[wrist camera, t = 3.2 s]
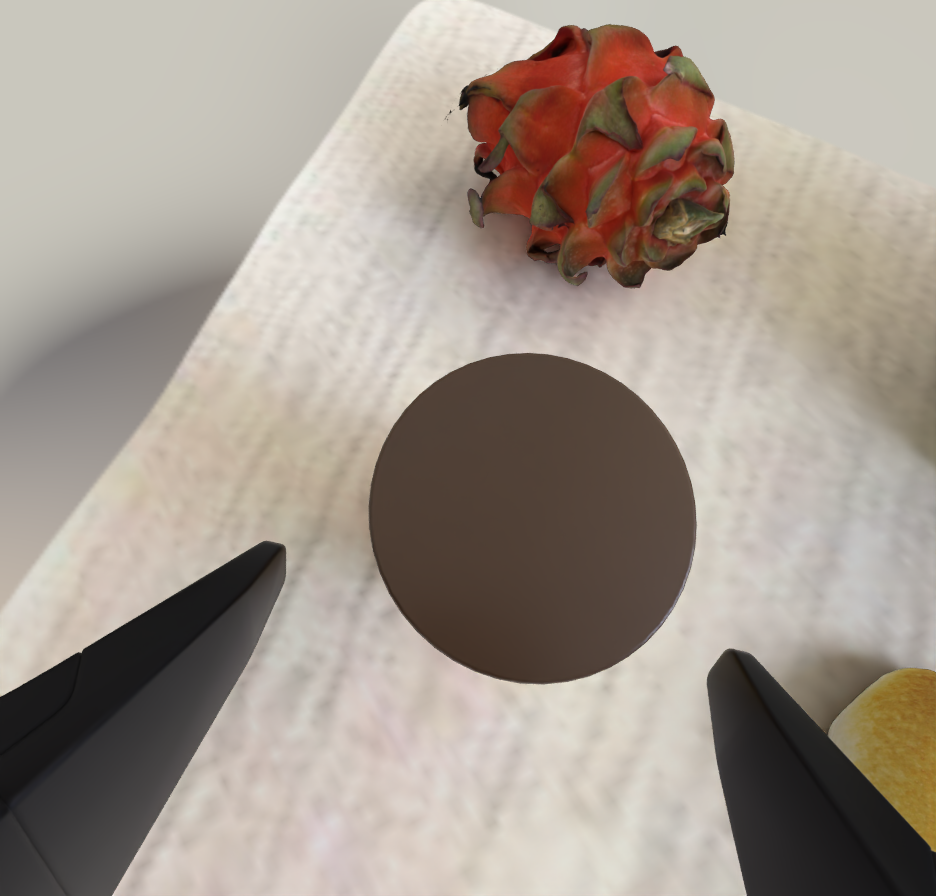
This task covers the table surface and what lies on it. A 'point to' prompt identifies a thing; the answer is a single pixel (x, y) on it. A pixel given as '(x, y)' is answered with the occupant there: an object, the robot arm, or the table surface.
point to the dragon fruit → (602, 153)
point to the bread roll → (896, 743)
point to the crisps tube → (532, 518)
